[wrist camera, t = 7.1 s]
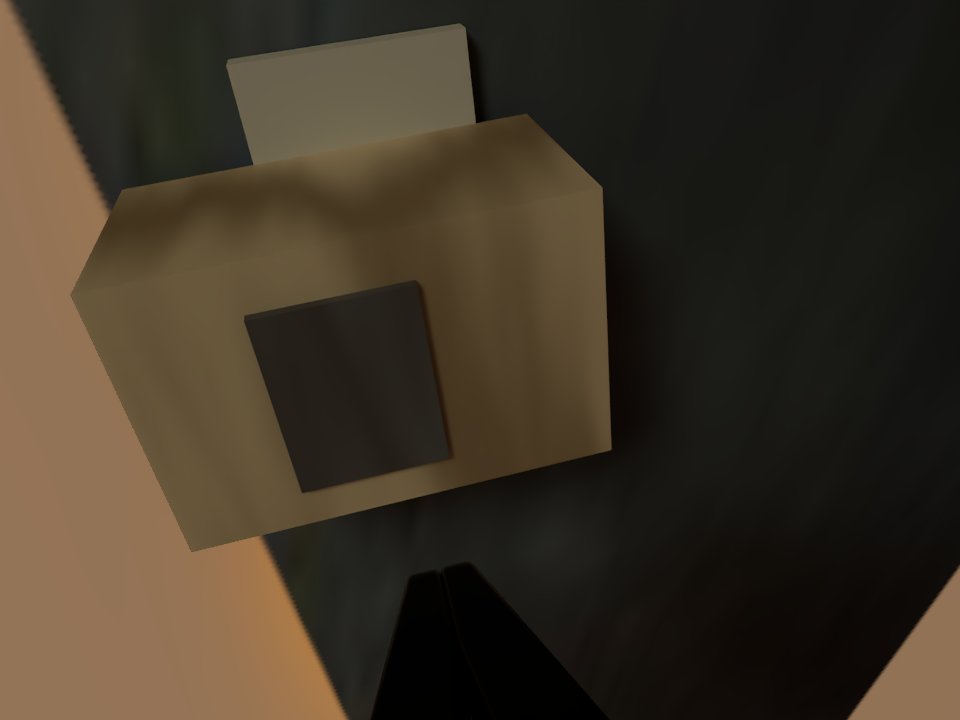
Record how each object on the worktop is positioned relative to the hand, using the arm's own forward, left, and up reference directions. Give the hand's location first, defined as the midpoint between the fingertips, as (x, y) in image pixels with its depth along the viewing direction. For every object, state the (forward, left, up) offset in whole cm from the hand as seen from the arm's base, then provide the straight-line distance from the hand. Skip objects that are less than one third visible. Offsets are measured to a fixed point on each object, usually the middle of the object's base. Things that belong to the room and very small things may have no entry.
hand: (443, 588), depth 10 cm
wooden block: (-4, 0, -8) cm, 9 cm away
